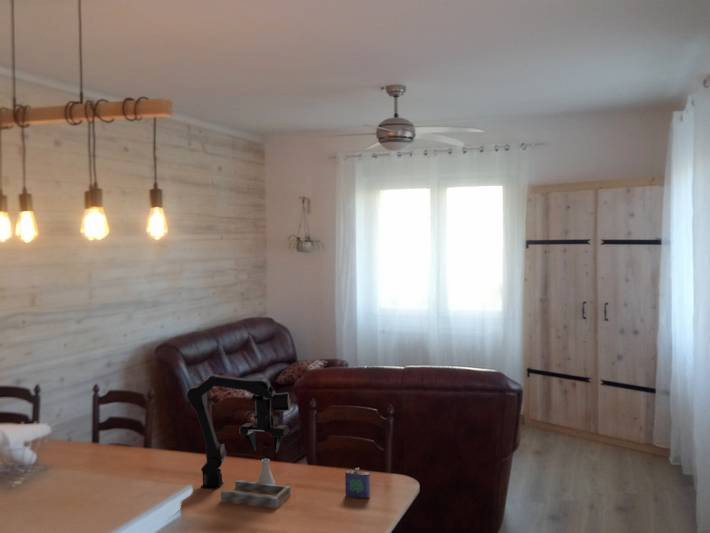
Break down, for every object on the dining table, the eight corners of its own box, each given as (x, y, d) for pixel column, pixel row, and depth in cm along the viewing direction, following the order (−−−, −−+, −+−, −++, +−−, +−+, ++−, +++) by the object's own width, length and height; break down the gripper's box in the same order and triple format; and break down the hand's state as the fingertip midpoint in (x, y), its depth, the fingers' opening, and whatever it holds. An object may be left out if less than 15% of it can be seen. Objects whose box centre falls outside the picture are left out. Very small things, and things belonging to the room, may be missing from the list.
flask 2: (370, 496, 232) (370, 467, 231) (368, 499, 229) (368, 470, 229) (346, 494, 235) (346, 465, 234) (344, 497, 232) (343, 468, 231)
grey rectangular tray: (221, 501, 229) (221, 492, 229) (237, 489, 241) (237, 479, 241) (276, 508, 222) (276, 499, 222) (290, 495, 234) (290, 486, 234)
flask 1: (271, 490, 239) (271, 464, 239) (253, 488, 241) (253, 463, 240) (278, 482, 246) (277, 457, 246) (260, 481, 248) (259, 456, 247)
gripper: (294, 406, 247) (296, 446, 247) (251, 404, 253) (253, 443, 254) (281, 414, 236) (284, 456, 237) (237, 412, 242) (239, 452, 243)
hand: (265, 451), depth 243 cm, fingers open, 9 cm apart
